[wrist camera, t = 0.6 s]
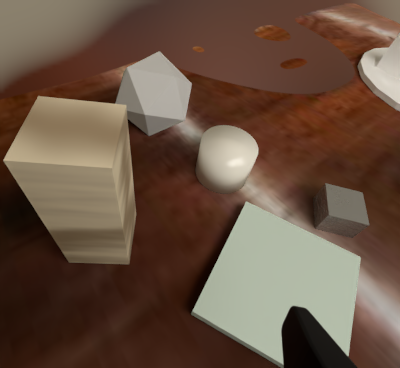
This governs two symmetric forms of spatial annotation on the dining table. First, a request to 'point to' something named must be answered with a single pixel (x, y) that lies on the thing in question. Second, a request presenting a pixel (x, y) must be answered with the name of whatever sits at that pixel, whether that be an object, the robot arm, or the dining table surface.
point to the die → (154, 94)
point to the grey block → (340, 211)
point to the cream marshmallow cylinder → (225, 158)
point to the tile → (277, 283)
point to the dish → (383, 72)
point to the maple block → (78, 176)
